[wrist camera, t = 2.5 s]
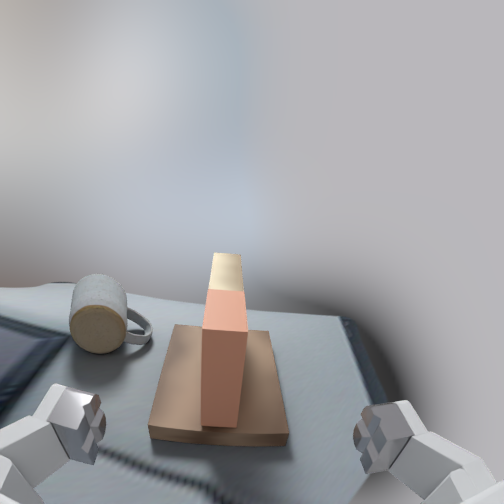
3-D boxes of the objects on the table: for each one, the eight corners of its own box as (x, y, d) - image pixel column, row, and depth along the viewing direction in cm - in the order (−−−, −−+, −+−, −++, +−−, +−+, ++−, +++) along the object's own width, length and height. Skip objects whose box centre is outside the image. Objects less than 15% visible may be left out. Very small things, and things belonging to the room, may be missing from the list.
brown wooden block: (150, 438, 23) (134, 328, 19) (175, 337, 39) (175, 249, 35) (285, 445, 24) (314, 341, 20) (266, 343, 40) (279, 257, 36)
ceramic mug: (73, 359, 30) (62, 302, 28) (76, 323, 37) (70, 272, 35) (157, 355, 35) (156, 299, 33) (148, 320, 42) (147, 271, 40)
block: (200, 425, 23) (202, 328, 20) (204, 379, 29) (208, 288, 26) (236, 427, 23) (248, 331, 20) (235, 381, 29) (244, 291, 26)
